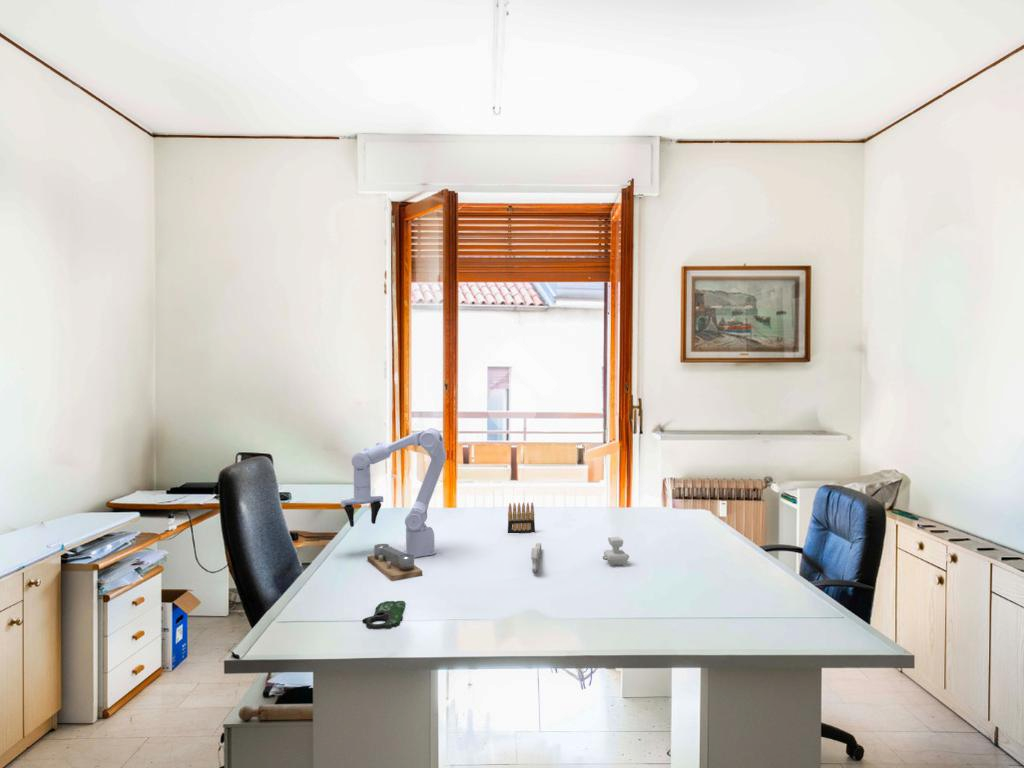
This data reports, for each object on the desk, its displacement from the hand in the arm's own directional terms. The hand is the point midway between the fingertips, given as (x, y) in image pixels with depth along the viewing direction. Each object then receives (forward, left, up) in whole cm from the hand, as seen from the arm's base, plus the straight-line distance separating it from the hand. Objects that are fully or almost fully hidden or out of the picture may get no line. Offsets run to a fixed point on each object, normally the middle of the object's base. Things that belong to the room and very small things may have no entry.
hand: (362, 524), depth 220 cm
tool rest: (-4, +20, -10) cm, 23 cm away
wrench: (-47, +40, -11) cm, 62 cm away
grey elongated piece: (-4, +20, -9) cm, 22 cm away
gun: (+12, +57, -11) cm, 59 cm away
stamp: (-68, +55, -11) cm, 88 cm away
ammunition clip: (-62, +5, -11) cm, 63 cm away
